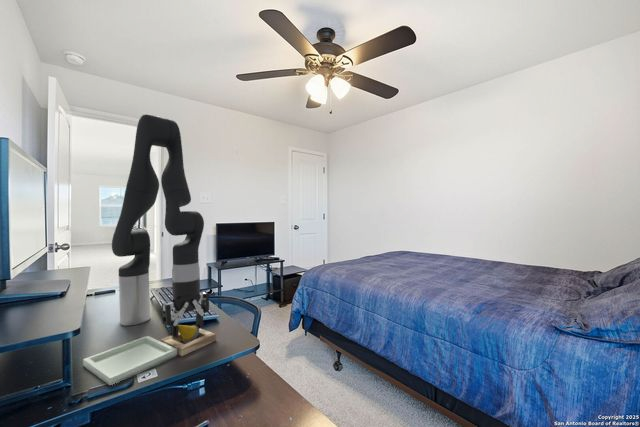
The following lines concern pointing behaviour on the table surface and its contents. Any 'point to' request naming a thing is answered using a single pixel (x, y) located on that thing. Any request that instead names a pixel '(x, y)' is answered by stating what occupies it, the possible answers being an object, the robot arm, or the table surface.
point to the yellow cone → (188, 332)
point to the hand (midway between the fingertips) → (187, 332)
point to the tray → (129, 359)
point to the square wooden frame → (186, 348)
